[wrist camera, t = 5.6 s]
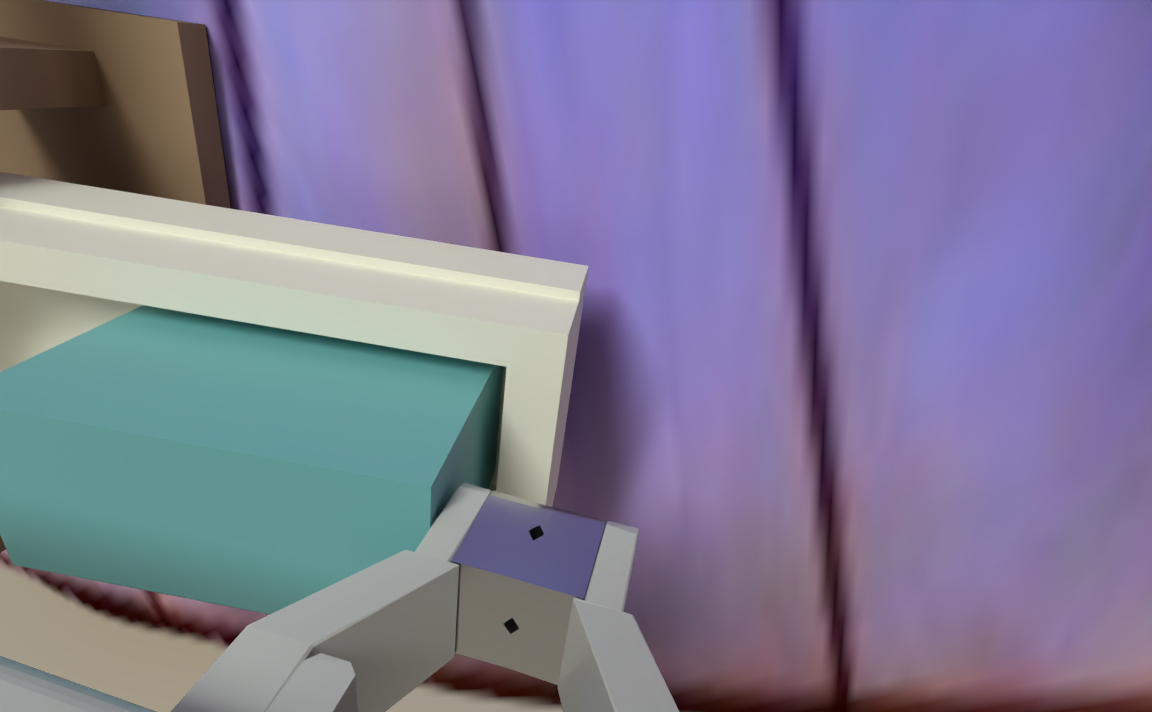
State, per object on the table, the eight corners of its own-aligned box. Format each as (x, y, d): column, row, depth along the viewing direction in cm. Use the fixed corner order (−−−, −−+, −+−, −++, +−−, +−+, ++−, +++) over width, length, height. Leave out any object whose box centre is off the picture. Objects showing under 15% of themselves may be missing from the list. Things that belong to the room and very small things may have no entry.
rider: (200, 418, 14) (12, 564, 10) (175, 290, 12) (-57, 398, 8) (495, 470, 13) (427, 644, 9) (505, 345, 12) (430, 487, 8)
